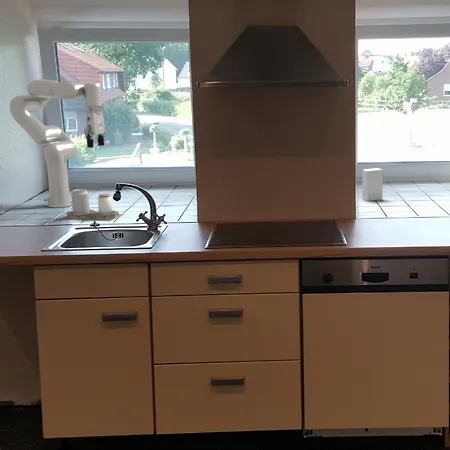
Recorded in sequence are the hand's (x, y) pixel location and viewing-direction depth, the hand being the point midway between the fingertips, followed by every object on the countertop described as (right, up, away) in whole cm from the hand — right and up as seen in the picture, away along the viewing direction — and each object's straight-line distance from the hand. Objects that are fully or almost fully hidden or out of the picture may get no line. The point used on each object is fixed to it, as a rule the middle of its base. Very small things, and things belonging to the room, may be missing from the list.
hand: (95, 146), depth 314 cm
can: (-3, -33, -18) cm, 38 cm away
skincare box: (+132, -25, +7) cm, 135 cm away
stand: (+2, -35, -20) cm, 40 cm away
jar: (+9, -34, -22) cm, 41 cm away
